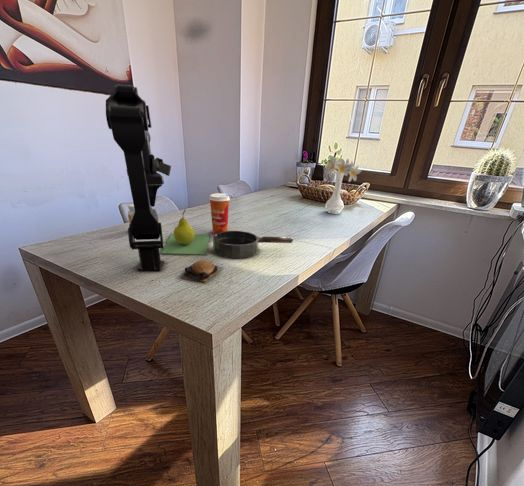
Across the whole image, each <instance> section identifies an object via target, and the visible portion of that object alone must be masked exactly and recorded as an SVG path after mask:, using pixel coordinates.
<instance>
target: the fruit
mask: <svg viewBox="0 0 524 486" xmlns="http://www.w3.org/2000/svg"><path fill="white" fill-rule="evenodd" d="M186 211H187V210H186V209H184V210H183V212H182V215H184V214H185V212H186ZM173 234H174V237H175V240H176V241H177V242H179V243H180V244H183V245H188V244H190V243H191V242H192V241H193V239H194V235H195V231H194V228H193V227H192V226H190V225H189V223H188V220H187V219H186V217H181V218H179V221H178V224H177V226H175V227H174V229H173Z"/></svg>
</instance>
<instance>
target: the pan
mask: <svg viewBox="0 0 524 486" xmlns="http://www.w3.org/2000/svg"><path fill="white" fill-rule="evenodd" d="M256 237H258V236H257V235H256V234H255V233H252V232H250V231H249V232H248V231H245V230H244V231H242V230H227V231H224V232H219V233H217V234H214V235H213V236H212V251H213V252H214V253H215V254H217V255H218V256H221V257H224V258H229V259H244V258H245V259H246V258H250V257H253V256H255V255H256V254H257V253H258V252H259V243H258V242H259V239H257V240H256Z"/></svg>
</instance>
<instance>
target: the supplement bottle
mask: <svg viewBox="0 0 524 486" xmlns="http://www.w3.org/2000/svg"><path fill="white" fill-rule="evenodd" d="M127 208H128V211H127V217H128V223H129V224H130V223H131V216H132V213H133V210H134V204H133V203H129V204H128V205H127Z"/></svg>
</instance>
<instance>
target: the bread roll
mask: <svg viewBox="0 0 524 486" xmlns="http://www.w3.org/2000/svg"><path fill="white" fill-rule="evenodd" d="M220 270H221V267H220V266H219V265H216V264H214V263H213V262H211V261H210V260H207V259H199V260H196V261H195V262H194V263H192V264H191V265H189V266H186V267H184V273H183V274H182V275H181V278H182V279H183V280H188V281H194V282H200V283H206V282H208V281H209V280H210V279H212V277H213V276H215V275H216V274H217V273H218V272H219V271H220Z"/></svg>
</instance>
